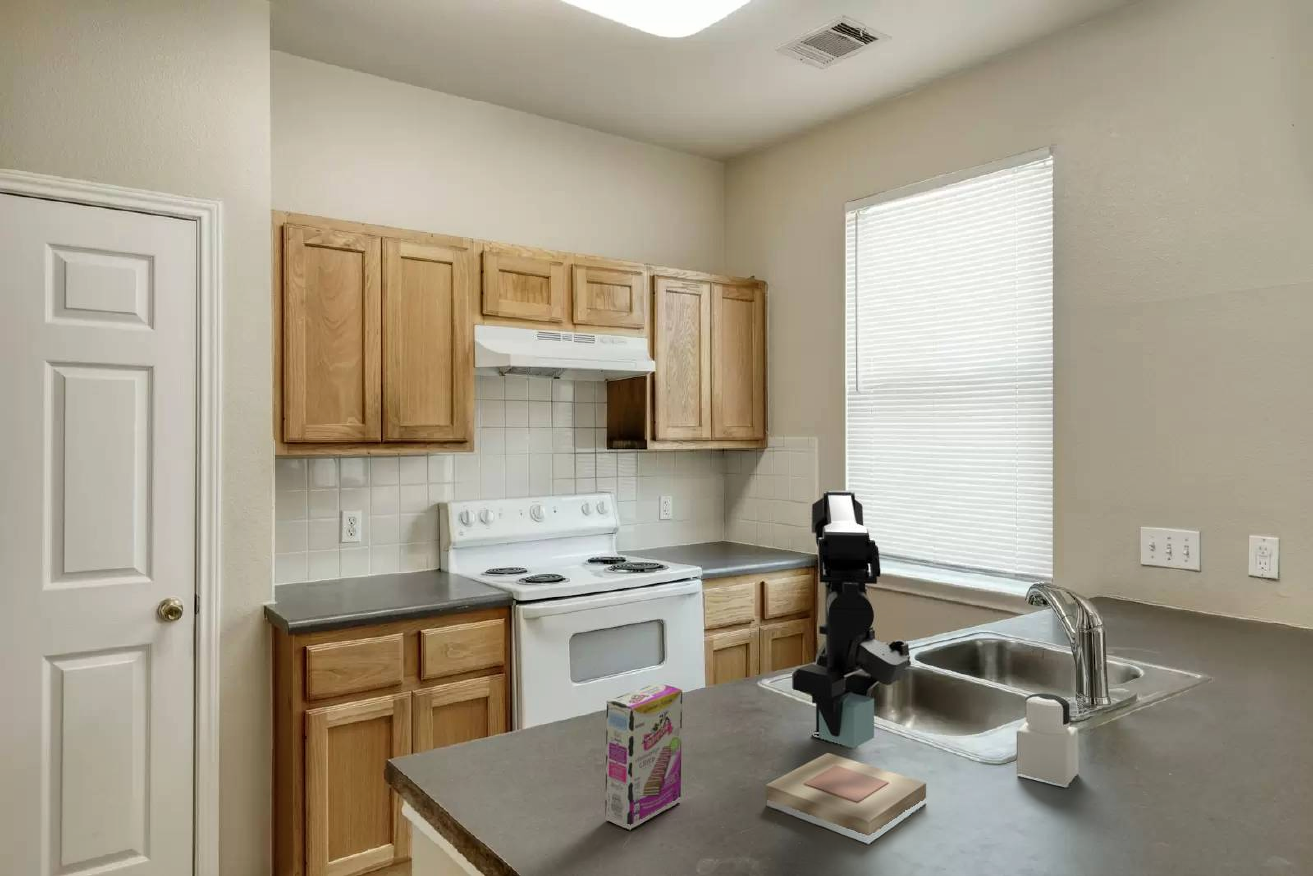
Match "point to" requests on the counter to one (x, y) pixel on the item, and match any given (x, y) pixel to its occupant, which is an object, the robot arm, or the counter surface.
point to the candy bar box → (643, 752)
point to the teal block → (852, 722)
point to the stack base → (847, 793)
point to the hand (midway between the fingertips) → (846, 730)
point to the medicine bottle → (1047, 740)
